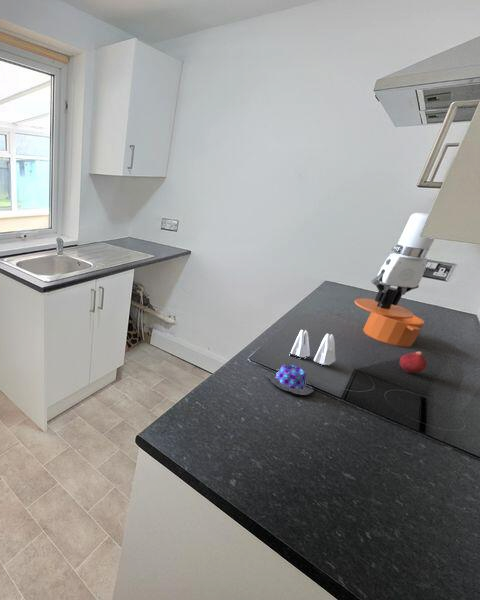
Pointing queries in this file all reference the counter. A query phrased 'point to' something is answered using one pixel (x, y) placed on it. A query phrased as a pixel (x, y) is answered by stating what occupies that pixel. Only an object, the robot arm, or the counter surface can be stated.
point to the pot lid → (385, 306)
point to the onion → (413, 362)
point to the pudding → (291, 376)
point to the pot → (393, 329)
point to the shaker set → (324, 352)
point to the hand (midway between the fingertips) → (385, 302)
